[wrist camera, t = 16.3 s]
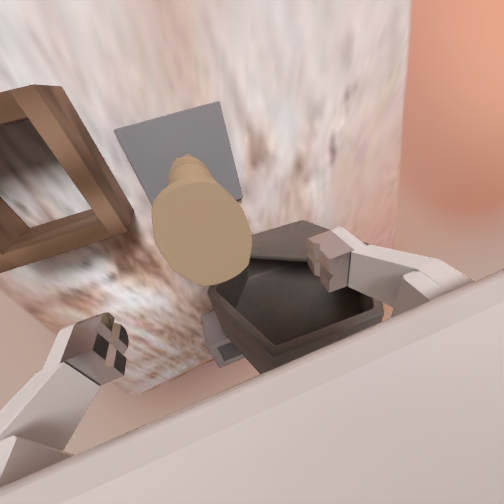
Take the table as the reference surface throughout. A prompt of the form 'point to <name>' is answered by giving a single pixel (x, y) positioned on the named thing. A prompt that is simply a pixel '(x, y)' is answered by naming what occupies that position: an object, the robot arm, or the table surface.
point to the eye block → (79, 170)
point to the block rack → (219, 341)
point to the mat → (180, 147)
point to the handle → (200, 225)
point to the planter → (287, 302)
